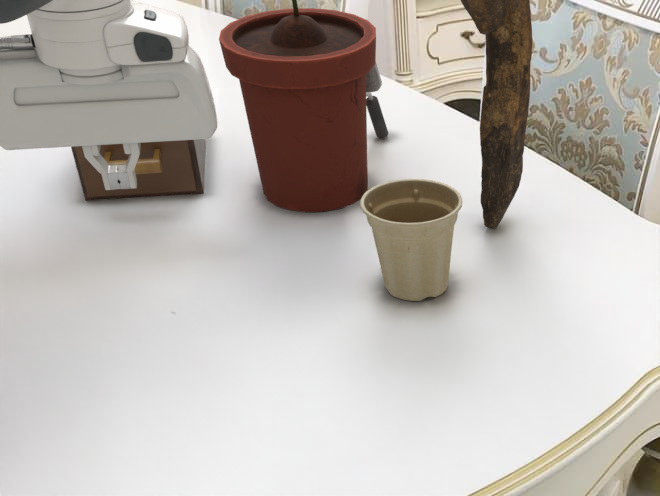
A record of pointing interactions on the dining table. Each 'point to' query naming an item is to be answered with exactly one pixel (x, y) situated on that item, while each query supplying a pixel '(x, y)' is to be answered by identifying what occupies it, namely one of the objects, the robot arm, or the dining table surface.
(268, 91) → the potted plant
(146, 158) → the drawer
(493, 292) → the dining table surface
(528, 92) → the sculpture
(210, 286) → the dining table surface
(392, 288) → the flower pot
